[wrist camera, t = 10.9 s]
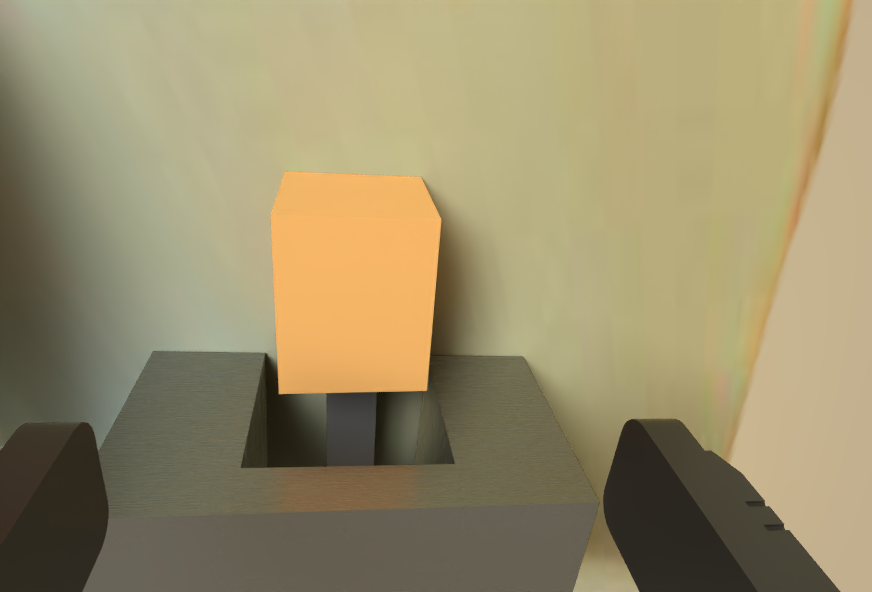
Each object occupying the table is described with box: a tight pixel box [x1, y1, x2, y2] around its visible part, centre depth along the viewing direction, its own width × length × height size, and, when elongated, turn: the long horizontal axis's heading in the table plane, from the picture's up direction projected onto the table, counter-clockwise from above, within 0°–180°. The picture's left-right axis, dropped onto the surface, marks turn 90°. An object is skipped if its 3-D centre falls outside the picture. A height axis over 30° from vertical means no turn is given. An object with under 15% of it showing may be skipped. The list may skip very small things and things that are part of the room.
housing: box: [83, 351, 600, 592], centre depth 18 cm, size 12×6×7 cm, turn 84°
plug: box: [271, 172, 441, 467], centre depth 19 cm, size 4×16×4 cm, turn 175°
